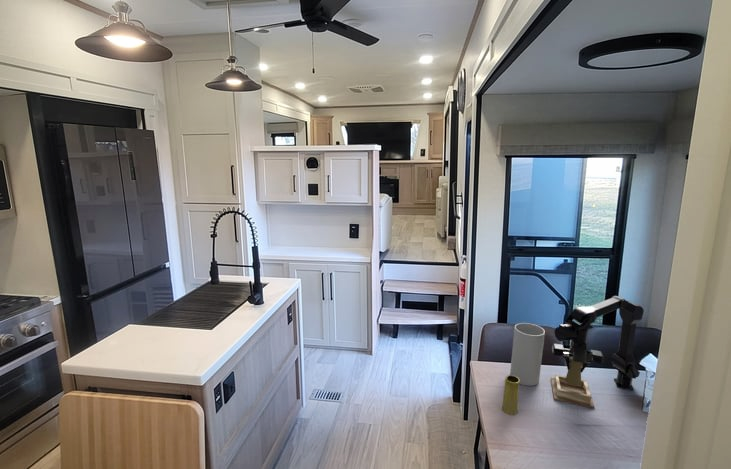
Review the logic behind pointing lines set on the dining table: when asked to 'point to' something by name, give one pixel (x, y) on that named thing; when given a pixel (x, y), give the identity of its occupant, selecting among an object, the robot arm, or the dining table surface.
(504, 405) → the vase
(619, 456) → the dining table surface
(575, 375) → the cork
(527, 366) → the cylinder vase
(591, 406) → the socket block
